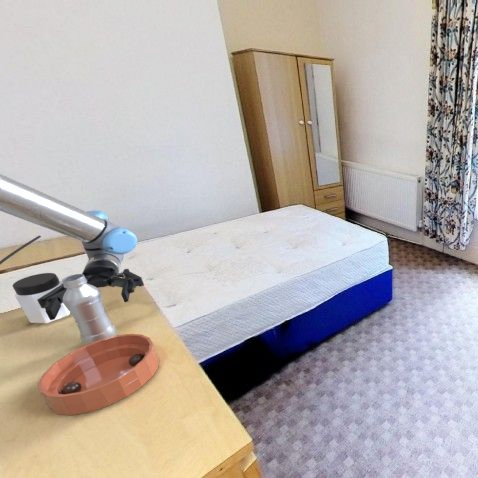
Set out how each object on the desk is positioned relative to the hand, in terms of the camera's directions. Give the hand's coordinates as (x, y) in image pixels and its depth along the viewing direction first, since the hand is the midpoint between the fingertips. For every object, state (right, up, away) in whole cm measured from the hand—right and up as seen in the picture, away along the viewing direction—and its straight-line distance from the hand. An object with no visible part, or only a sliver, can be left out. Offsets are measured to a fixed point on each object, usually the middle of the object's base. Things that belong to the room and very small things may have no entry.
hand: (89, 306), depth 81 cm
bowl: (+13, -16, -8) cm, 22 cm away
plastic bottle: (+1, -11, +3) cm, 11 cm away
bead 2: (+16, -13, -4) cm, 21 cm away
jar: (-24, -5, +13) cm, 28 cm away
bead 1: (+9, -17, -12) cm, 22 cm away
